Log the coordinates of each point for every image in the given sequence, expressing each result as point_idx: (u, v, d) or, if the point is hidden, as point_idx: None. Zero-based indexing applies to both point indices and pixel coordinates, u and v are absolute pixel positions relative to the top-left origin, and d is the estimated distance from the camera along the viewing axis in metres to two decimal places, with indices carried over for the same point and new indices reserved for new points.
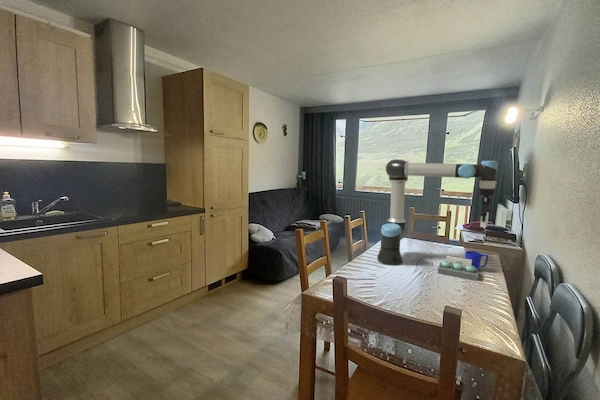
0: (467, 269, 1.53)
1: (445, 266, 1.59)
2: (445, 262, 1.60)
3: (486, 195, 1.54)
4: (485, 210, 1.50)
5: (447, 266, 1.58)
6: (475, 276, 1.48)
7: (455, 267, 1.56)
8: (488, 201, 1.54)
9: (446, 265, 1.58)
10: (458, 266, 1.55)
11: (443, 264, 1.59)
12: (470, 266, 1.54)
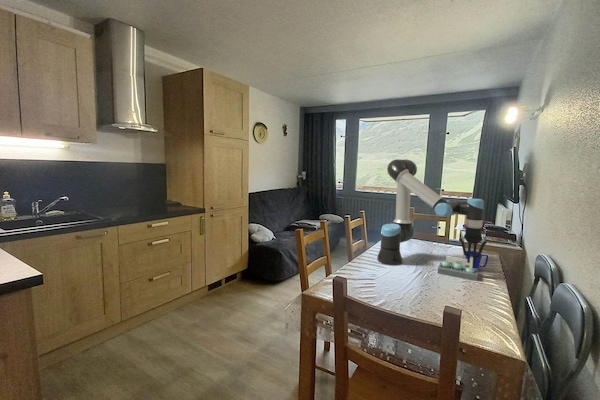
0: None
1: (445, 266, 1.59)
2: (445, 262, 1.60)
3: None
4: (463, 251, 1.54)
5: (447, 266, 1.58)
6: (475, 276, 1.48)
7: (455, 267, 1.56)
8: (468, 241, 1.52)
9: (446, 265, 1.58)
10: (458, 266, 1.55)
11: (443, 264, 1.59)
12: (470, 269, 1.54)
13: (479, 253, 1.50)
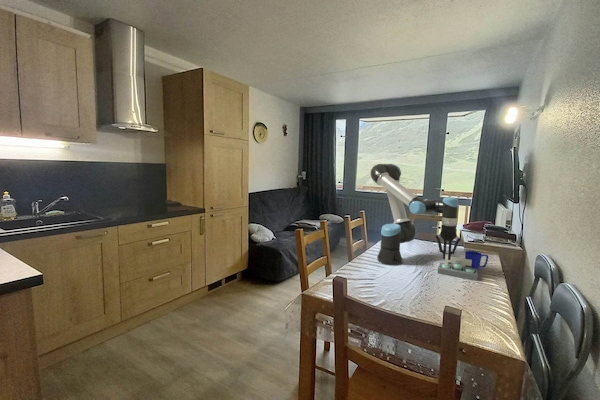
0: None
1: None
2: (445, 265, 1.60)
3: None
4: (439, 248, 1.61)
5: None
6: (475, 276, 1.48)
7: (455, 267, 1.56)
8: (444, 238, 1.58)
9: None
10: (458, 266, 1.55)
11: None
12: (470, 269, 1.54)
13: (454, 250, 1.56)
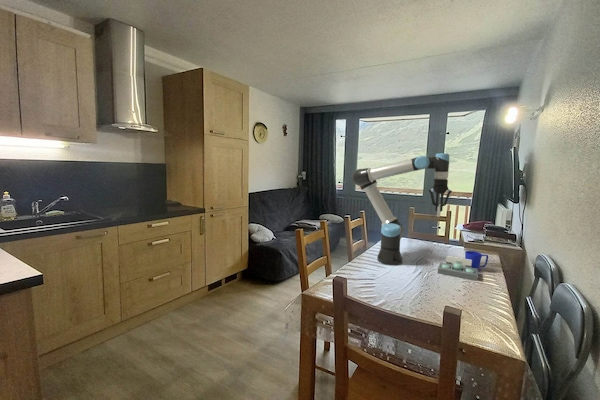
0: None
1: None
2: (445, 265, 1.60)
3: None
4: (432, 201, 1.74)
5: None
6: (475, 276, 1.48)
7: (455, 267, 1.56)
8: (436, 191, 1.72)
9: None
10: (458, 266, 1.55)
11: None
12: (470, 269, 1.54)
13: (445, 201, 1.69)
